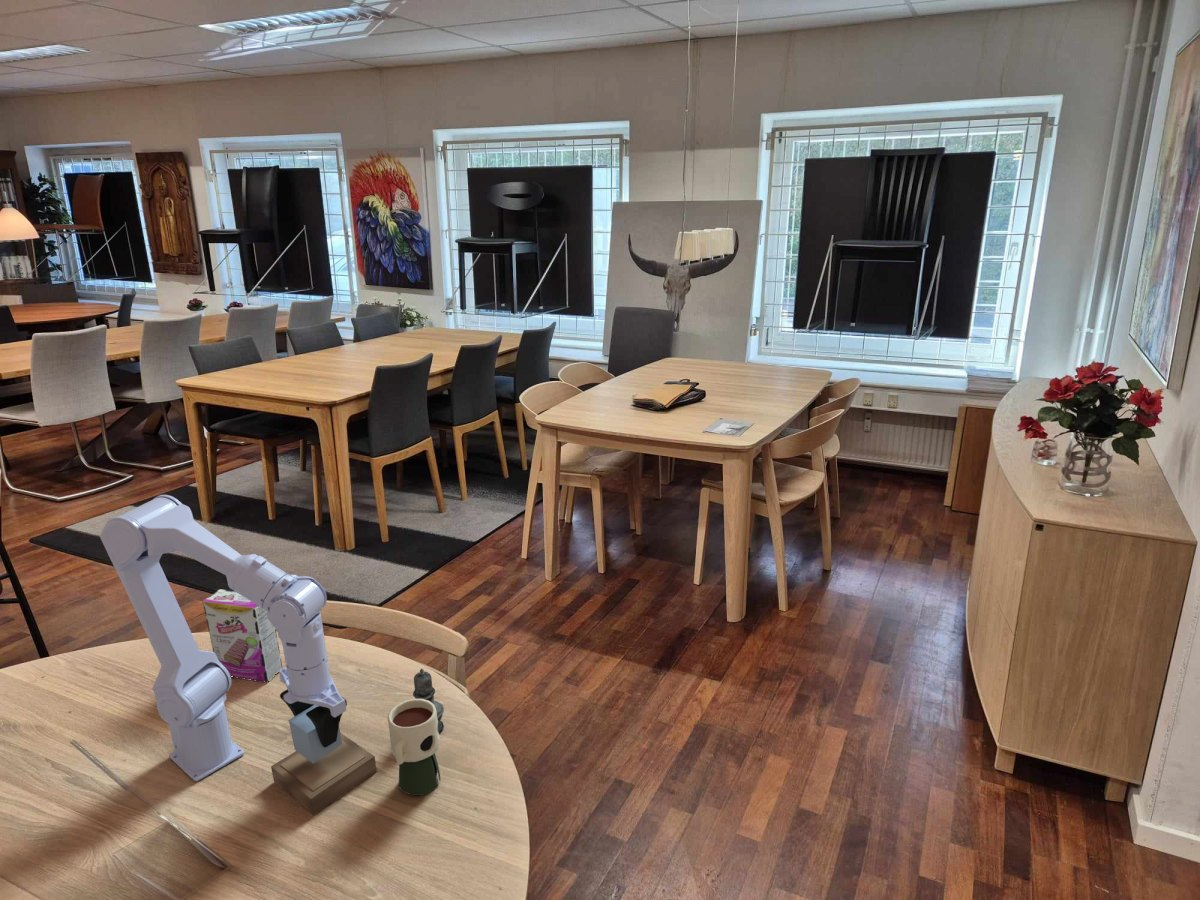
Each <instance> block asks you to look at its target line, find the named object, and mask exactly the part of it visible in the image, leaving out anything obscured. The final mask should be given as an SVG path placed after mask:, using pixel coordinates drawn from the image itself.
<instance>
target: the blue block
mask: <svg viewBox="0 0 1200 900" xmlns="http://www.w3.org/2000/svg"><path fill="white" fill-rule="evenodd" d="M317 706H318V705H313V706H312V707H310V708H308V709H307V710H305V711H303V712H301V713H300V714H298V715H296V716H295V717H294V716H293V717H292V718H289V719H288V723H289V728H290V734H291V738H292V744H293V748H294V750H295V751H297V752H298V753H300V754H301V755H302V756H304V757H305V758H306V759H308V760H309V761H310V762H312V763H315V762H316V761H318V760H319V759H321V758H323V757H324V756H326V755H327V754H329V753H330V752H332V751H333V750H335V749H336V748H338V747H339V746H341V745H342V740H341V735H340V733H341V730H340V727H339V728H338V735H337V741H336V742H334V743H332V744H331V745H329V746H328V747H326V748H325V747H323V746H322V744H321V742H320V740H319V737H318V733H317V730H316V728H315V726H314V724H313V723H312V721H311V720H310V719H309V718H308V717H307V716H306V713H307V712H309V711H310V710H312V709H314V708H316V707H317Z"/></svg>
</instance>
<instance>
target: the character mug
mask: <svg viewBox="0 0 1200 900" xmlns="http://www.w3.org/2000/svg"><path fill="white" fill-rule="evenodd" d="M387 722H388V732H389V738H390V739H389V740H390V746H391V748H390V749H391V753H392V755H393V757H395V761H396V764H397V765H399V766H398V788H399V789H400V790H401V791H402V792H404V793H406V794H408V795H411V796H413V795H414V796H423V795H425V794H429V793H431V792H432V791H433V790H435V789H436V788H437V786H438V782H437V777H438V779H439V782H441V771H440V767H439V763H438V760H437V757H436V756H437V755H436V752H437V751H438V750H439V745H440V742H441V741H440V740H441V738H440V734H439V733H438V730H437V728H438V719H437V712H436V708H435V705H434V704H433V703H431V702H430V701H428V700H425V699H415V698H411V699H407V700H403V701H402V702H399V703H398V704H396V705H395V706H394V707H392V708H391V709H390V710H389V713H388V715H387Z"/></svg>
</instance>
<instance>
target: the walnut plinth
mask: <svg viewBox="0 0 1200 900" xmlns="http://www.w3.org/2000/svg"><path fill="white" fill-rule="evenodd" d="M340 735H341V740H342V745H341V746H339V747H338V748H336V749H335V750H333V751H332V752H330V753H329V754H327V755H326V756H324V757H323V758H321V759H319V760H318V761H316V762H315V763H312V762H310V761H309V760H308V759H306V758H305V757H304V756H302V755H301V754H300V753H298V752H297V751H296V750H295V751H294V752H292V753H290V754H289V755H287V756H285V757H284V758H282V759H281V760H279V761H277V762H276V763H274V764H272V765H270V767H271V768H270V769H271V774H272V778H273V782H274V784H275V785H277V786H278V787H279V788H280V789H281V790H283V791H284V792H285V793H286V794H288V795H289V796H290V797H291V798H292V799H294V800H295V801H296V802H297V803H299V805H301V806H302V807H304V809H306V810H307V811H308V812H309V813H311V815H313V816H315V815H317V814H318V813H319V812H321V811H322V810H324V809H325V808H327V807H328V806H329V805H331V804H333V802H335V801H337V800H338V799H340V798H341V797H343V796H345V795H346V794H347V793H348V792H349V791H351V790H353V789H355V788H356V787H357V786H359V785H360V784H361V783H363V782H364V781H366V780H367V779H369V778H370V777H372V776H373V775H375V774H376V773H377V772H378V771H377V762H376V758H375V757H376V756H375V755H374V754H372V753H371V752H369V751H368V750H366V749H365V748H364V747H362V746H361V745H359V744H358V743H356V742H355V741H354V740H352V739H351V738H350V737H347V736H346V735H345V734H343V733H342V732H340Z"/></svg>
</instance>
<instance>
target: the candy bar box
mask: <svg viewBox="0 0 1200 900" xmlns="http://www.w3.org/2000/svg"><path fill="white" fill-rule="evenodd" d="M202 605H203V609H204V613H205V619H206V623H207V629H208V634H209V638H210V644H211V647H212V652H214V653H215V654H216V656H217V658H218V660H219V662H220V663H221V664H222V665H223V666H224V667H225V668H226V669H227V670H228V672H229V674H230V676H233V677H238V678H245V679H251V680H250V681H252V680H256V681H255V682H259V681H265V682H268V681H269V680H270V679H271V678H272V677H273V676H274V675H275V674H276V673H277V672H278V671H279V670H281V669H282V668H283V664H282V658H281V657H282V656H281V652H280V645H279V640H278V639H279V638H278V633H277V630H276V628H275V627H274V626H273V625H272V624H271V622H270V621H269V619H268V617H267V612H268V611H266V610H264V609H263V608H261V607H260V606H258V605H256V604H255V603H253V602H252V601H250V600H248V599H247V598H245V597H243V596H242V595H240V594H239V593H237V592H235V591H234V590H230V589H229V590H228V589H218V590H217V591H215V592H214V593H212V594H210V596H208V597H206V598H205V599H204V600H202ZM238 678H237V679H238ZM245 679H244V680H245ZM265 682H264V683H265ZM269 682H270V681H269ZM269 682H268V683H269Z"/></svg>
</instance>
